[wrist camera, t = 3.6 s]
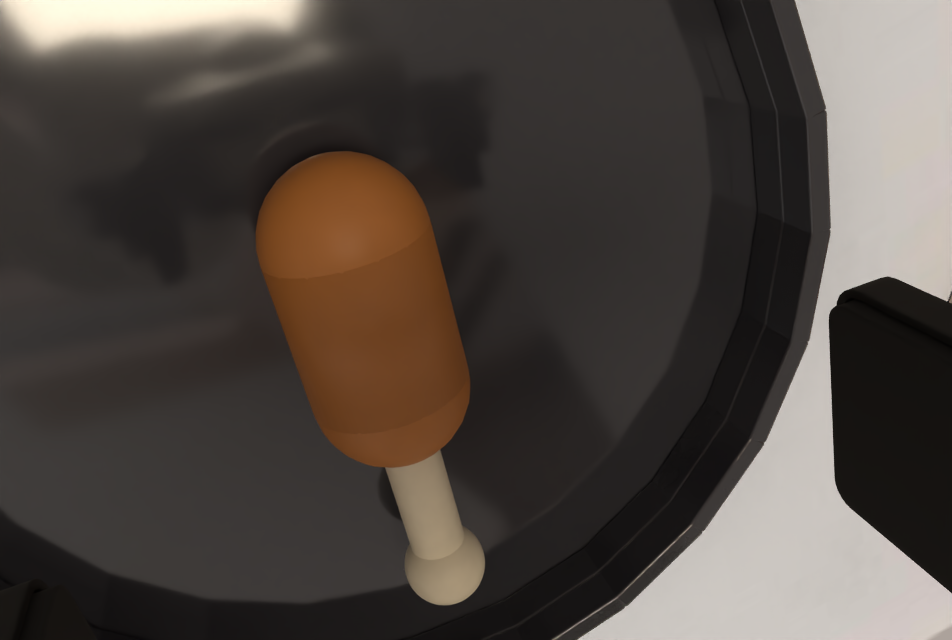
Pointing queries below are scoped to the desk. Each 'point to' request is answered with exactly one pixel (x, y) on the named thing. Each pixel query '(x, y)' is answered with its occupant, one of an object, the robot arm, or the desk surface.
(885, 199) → the desk surface
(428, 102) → the pan
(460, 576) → the drumstick
